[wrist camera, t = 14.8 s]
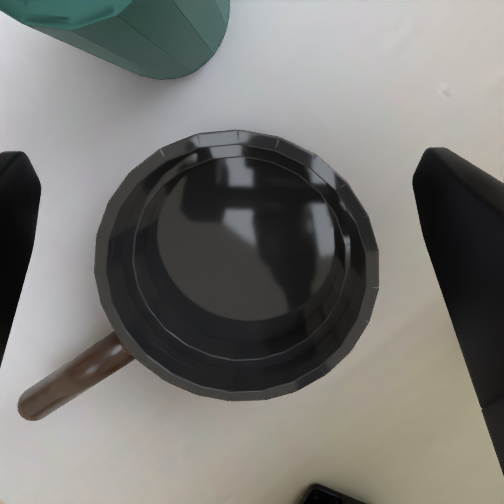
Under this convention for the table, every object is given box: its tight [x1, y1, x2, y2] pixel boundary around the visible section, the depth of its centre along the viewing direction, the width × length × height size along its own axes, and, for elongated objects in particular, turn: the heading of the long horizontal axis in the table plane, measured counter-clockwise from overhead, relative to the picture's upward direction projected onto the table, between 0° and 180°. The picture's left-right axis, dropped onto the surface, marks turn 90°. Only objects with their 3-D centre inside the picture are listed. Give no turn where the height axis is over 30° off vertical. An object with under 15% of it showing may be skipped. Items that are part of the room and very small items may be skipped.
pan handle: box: [17, 331, 136, 421], centre depth 21 cm, size 9×2×2 cm, turn 125°
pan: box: [94, 130, 379, 401], centre depth 20 cm, size 13×13×4 cm
